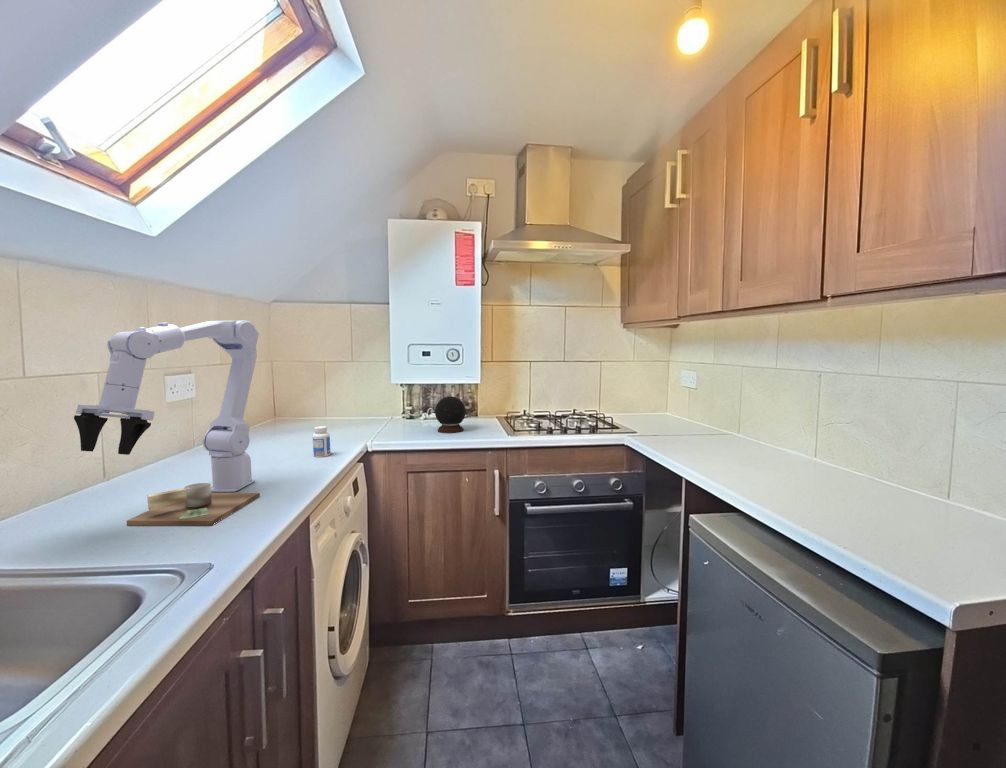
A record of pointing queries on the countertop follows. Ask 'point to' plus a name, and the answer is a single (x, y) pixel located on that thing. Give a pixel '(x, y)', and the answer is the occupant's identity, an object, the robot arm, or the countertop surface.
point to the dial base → (196, 511)
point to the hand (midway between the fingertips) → (105, 452)
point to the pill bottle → (321, 442)
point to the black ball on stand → (450, 415)
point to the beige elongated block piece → (182, 497)
